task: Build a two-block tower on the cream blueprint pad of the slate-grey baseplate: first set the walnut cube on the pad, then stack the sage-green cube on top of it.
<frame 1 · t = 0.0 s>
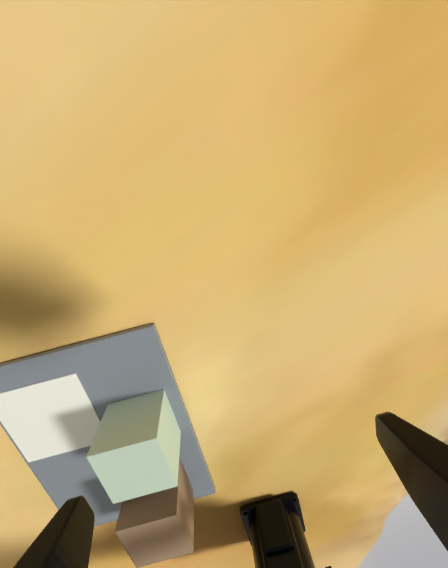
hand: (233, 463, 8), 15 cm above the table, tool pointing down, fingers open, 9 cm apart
baseplate: (110, 436, 26), on the table
sage block: (145, 418, 25), point 1 cm above the table, touching baseplate
walnut block: (162, 481, 27), point 1 cm above the table, touching baseplate
when the fingers open (2 cm above the table, at t = 6.7 s): walnut block drops 1 cm, resting on baseplate.
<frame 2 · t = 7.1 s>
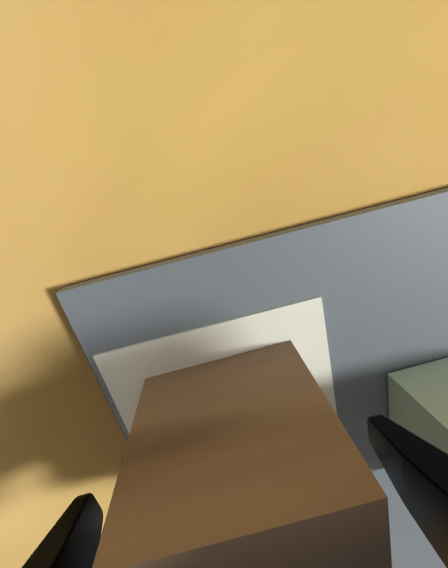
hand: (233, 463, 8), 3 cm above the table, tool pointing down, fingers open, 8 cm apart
baseplate: (330, 452, 12), on the table
walnut block: (234, 416, 10), point 1 cm above the table, touching baseplate
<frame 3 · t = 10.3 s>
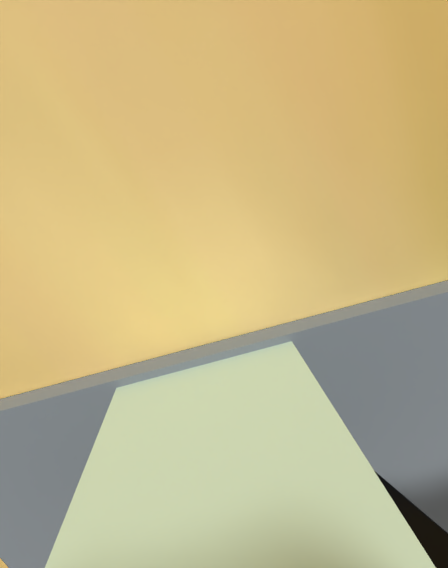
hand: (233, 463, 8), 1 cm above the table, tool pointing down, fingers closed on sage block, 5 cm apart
baseplate: (290, 498, 11), on the table
sage block: (225, 430, 8), point 1 cm above the table, touching baseplate, gripper
when the fingers open (7 cm above the table, at t = 13.1 s): sage block drops 1 cm, resting on walnut block.
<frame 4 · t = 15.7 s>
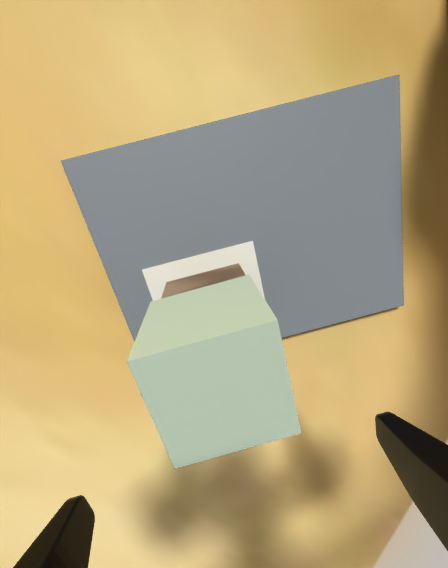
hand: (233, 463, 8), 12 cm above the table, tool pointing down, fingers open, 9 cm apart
baseplate: (255, 241, 19), on the table
sage block: (213, 331, 14), point 6 cm above the table, touching walnut block
walnut block: (211, 305, 19), point 1 cm above the table, touching baseplate, sage block
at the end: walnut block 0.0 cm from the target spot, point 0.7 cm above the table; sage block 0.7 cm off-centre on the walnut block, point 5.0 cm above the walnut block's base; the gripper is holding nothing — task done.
